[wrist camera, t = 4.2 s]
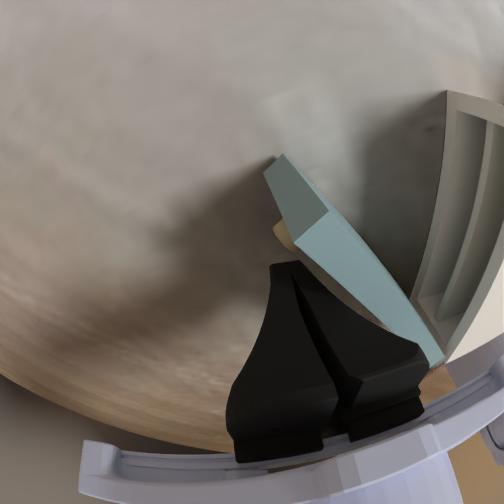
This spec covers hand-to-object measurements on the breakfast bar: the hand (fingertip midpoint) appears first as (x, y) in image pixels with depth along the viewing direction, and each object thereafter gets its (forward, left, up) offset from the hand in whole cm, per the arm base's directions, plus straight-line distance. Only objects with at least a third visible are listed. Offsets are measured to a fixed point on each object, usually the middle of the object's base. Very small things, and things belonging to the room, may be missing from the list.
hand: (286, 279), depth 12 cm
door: (-1, -4, -2) cm, 5 cm away
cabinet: (+1, -14, -2) cm, 14 cm away
